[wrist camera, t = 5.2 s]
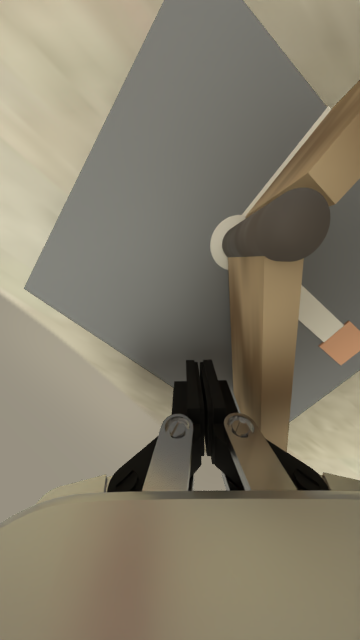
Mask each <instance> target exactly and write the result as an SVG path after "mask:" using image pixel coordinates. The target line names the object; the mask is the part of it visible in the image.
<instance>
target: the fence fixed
mask: <svg viewBox="0 0 360 640" xmlns="http://www.w3.org/2000/svg"><path fill="white" fill-rule="evenodd" d="M359 179H360V80H359V81H358V83H357V84H356V85H355V86H354V87H353V88H352V89H351V90H350V91H349V92H348V93H347V94H346V95H345V96H344V97H343V98H342V99H341V100H340V101H339V102H338V103H337V104H336V105H335V106H334V107H333V108H332V109H331V110H330V112H329V113H328V114H327V115H326V117H325V118H324V119H323V120H322V122H321V123H320V124H319V125H318V127H317V128H316V129H315V130H314V132H313V133H312V134H311V135H310V136H309V138H308V139H307V140H306V141H305V143H304V144H303V145H302V146H301V148H300V149H299V150H298V151H297V153H296V154H295V155H294V156H293V158H292V159H291V160H290V161H289V163H288V164H287V165H286V166H285V168H284V169H283V170H282V171H281V173H280V174H279V175H278V176H277V178H276V179H275V180H274V181H273V183H272V184H271V185H270V186H269V188H268V189H267V190H266V191H265V193H264V194H263V195H262V196H261V198H260V199H259V200H258V201H257V202H256V204H255V205H254V206H253V207H252V209H251V210H250V211H249V212H248V214H247V215H246V216H245V218H247V217H249V216H250V215H252V214H253V213H255V212H256V211H258V210H259V209H261V208H263V207H264V206H266V205H267V204H269V203H270V202H272V201H273V200H275V199H276V198H278V197H279V196H281V195H282V194H284V193H285V192H287V191H289V190H292V189H295V188H302V187H304V188H311V189H314V190H316V191H318V192H319V193H320V194H321V195H323V197H324V198H325V199H326V201H327V203H328V205H329V206H332V205H335V204H336V203H337V202H338V201H339V200H340V199H341V198H342V197H343V196H344V195H345V194H346V192H347V191H348V190H349V189H350V188H351V187H352V186H353V185H354V184H355V183H356V182H357V181H358V180H359Z"/></svg>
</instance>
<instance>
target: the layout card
mask: <svg viewBox="0 0 360 640" xmlns="http://www.w3.org/2000/svg"><path fill="white" fill-rule="evenodd" d="M330 110H331V108H330V107H329V106H328V107H326V105H325V104H324V103H323V102H322V100H321V99H320V98H319V96H318V95H317V94H316V93H315V91H314V90H313V89H312V88H311V86H310V85H309V84H308V82H307V81H306V80H305V79H304V77H303V76H302V75H301V74H300V72H299V71H298V70H297V68H296V67H295V66H294V65H293V63H292V62H291V61H290V60H289V58H288V57H287V56H286V54H285V53H284V52H283V51H282V49H281V48H280V47H279V46H278V44H277V43H276V42H275V40H274V39H273V38H272V37H271V35H270V34H269V33H268V32H267V30H266V29H265V28H264V26H263V25H262V24H261V23H260V21H259V20H258V19H257V18H256V16H255V15H254V14H253V12H252V11H251V10H250V9H249V7H248V6H247V5H246V4H245V2H244V1H243V0H164V2H163V4H162V6H161V8H160V10H159V12H158V14H157V16H156V18H155V20H154V22H153V24H152V26H151V28H150V30H149V32H148V34H147V37H146V39H145V41H144V43H143V45H142V47H141V49H140V51H139V53H138V55H137V57H136V59H135V61H134V63H133V65H132V67H131V69H130V71H129V73H128V76H127V78H126V80H125V82H124V84H123V86H122V88H121V90H120V92H119V94H118V96H117V98H116V100H115V102H114V104H113V106H112V108H111V110H110V113H109V115H108V117H107V119H106V121H105V123H104V125H103V127H102V129H101V131H100V133H99V135H98V137H97V139H96V141H95V143H94V145H93V147H92V150H91V152H90V154H89V156H88V158H87V160H86V162H85V164H84V166H83V168H82V170H81V172H80V174H79V176H78V178H77V180H76V182H75V184H74V186H73V189H72V191H71V193H70V195H69V197H68V199H67V201H66V203H65V205H64V207H63V209H62V211H61V213H60V215H59V217H58V219H57V221H56V223H55V226H54V228H53V230H52V232H51V234H50V236H49V238H48V240H47V242H46V244H45V246H44V248H43V250H42V252H41V254H40V256H39V258H38V260H37V262H36V265H35V267H34V269H33V271H32V273H31V275H30V277H29V279H28V281H27V283H26V285H25V287H24V289H25V290H27V291H28V292H30V293H31V294H33V295H34V296H36V297H37V298H39V299H40V300H42V301H43V302H45V303H46V304H48V305H49V306H51V307H52V308H54V309H55V310H57V311H58V312H60V313H61V314H63V315H64V316H66V317H67V318H69V319H70V320H72V321H73V322H75V323H76V324H78V325H79V326H81V327H82V328H84V329H86V330H87V331H89V332H90V333H92V334H93V335H95V336H96V337H98V338H99V339H101V340H102V341H104V342H105V343H107V344H108V345H110V346H111V347H113V348H114V349H116V350H117V351H119V352H120V353H122V354H123V355H125V356H126V357H128V358H129V359H131V360H132V361H134V362H135V363H137V364H138V365H140V366H141V367H143V368H144V369H146V370H147V371H149V372H150V373H152V374H154V375H155V376H157V377H158V378H160V379H161V380H163V381H164V382H166V383H167V384H169V385H170V386H172V387H173V388H174V381H187V379H186V360H194V362H198V368H199V374H200V362H203V360H210V359H212V362H213V365H214V369H215V372H216V375H217V379H218V380H226V381H227V383H228V385H229V388H230V391H231V394H232V396H233V399H234V402H235V404H236V407H237V410H238V412H239V413H241V412H240V409H239V406H238V404H237V401H236V398H235V395H234V393H233V370H232V345H231V321H230V296H229V271H228V257H227V256H226V255H225V254H224V252H223V249H222V241H223V238H224V236H225V234H226V233H227V231H228V230H229V229H231V228H232V227H234V226H235V225H237V224H238V223H240V222H241V221H243V220H244V219H246V218H245V216H246V215H247V214H248V212H249V211H250V210H251V209H252V207H253V206H254V205H255V204H256V202H257V201H258V200H259V199H260V198H261V196H262V195H263V194H264V193H265V191H266V190H267V189H268V188H269V186H270V185H271V184H272V183H273V181H274V180H275V179H276V178H277V176H278V175H279V174H280V173H281V171H282V170H283V169H284V168H285V166H286V165H287V164H288V163H289V161H290V160H291V159H292V158H293V156H294V155H295V154H296V153H297V151H298V150H299V149H300V148H301V146H302V145H303V144H304V143H305V141H306V140H307V139H308V138H309V136H310V135H311V134H312V133H313V132H314V130H315V129H316V128H317V127H318V125H319V124H320V123H321V122H322V120H323V119H324V118H325V117H326V115H327V114H328V113H329V112H330ZM329 209H330V226H329V229H328V232H327V235H326V237H325V239H324V240H323V242H322V243H321V245H320V246H319V247H318V248H317V249H316V250H315V251H314V252H313V253H312V254H310V255H309V256H307V257H305V258H304V261H303V272H302V284H301V295H300V306H299V318H298V329H297V340H296V351H295V363H294V374H293V385H292V397H291V408H290V419H289V422H290V421H292V420H293V419H294V418H296V417H297V416H299V415H300V414H301V413H303V412H304V411H305V410H307V409H308V408H309V407H311V406H312V405H313V404H315V403H316V402H317V401H319V400H320V399H321V398H323V397H324V396H325V395H327V394H328V393H330V392H331V391H332V390H334V389H335V388H336V387H338V386H339V385H340V384H342V383H343V382H344V381H346V380H347V379H348V378H350V377H351V376H352V375H354V374H355V373H356V372H358V371H359V370H360V179H359V180H358V181H357V182H356V183H355V184H354V185H353V186H352V187H351V188H350V189H349V190H348V191H347V192H346V194H345V195H344V196H343V197H342V198H341V199H340V200H339V201H338V202H337V203H336V204H335V205H332V206H329Z"/></svg>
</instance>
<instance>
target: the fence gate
mask: <svg viewBox="0 0 360 640" xmlns="http://www.w3.org/2000/svg"><path fill="white" fill-rule="evenodd" d="M329 226H330V209H329V205H328V203H327V201H326V199H325V198H324V197H323V195H321V194H320V193H319V192H318V191H316V190H314V189H311V188H304V187H302V188H295V189H292V190H289V191H287V192H285V193H284V194H282V195H281V196H279V197H278V198H276V199H275V200H273V201H272V202H270V203H269V204H267V205H266V206H264V207H263V208H261V209H259V210H258V211H256V212H255V213H253V214H252V215H250V216H249V217H247V218H246V219H244V220H243V221H241V222H240V223H238V224H237V225H235V226H234V227H232V228H231V229H229V230H228V231H227V233H226V234H225V236H224V238H223V241H222V249H223V252H224V254H225V255H226V256H227V257H228V271H229V296H230V321H231V345H232V370H233V393H234V395H235V398H236V401H237V404H238V406H239V409H240V412H241V414H245V415H247V416H249V417H250V418H251V419H253V421H254V422H255V423H256V425H257V426H258V428H259V429H260V431H261V432H262V434H263V436H264V437H265V439H267V440H268V441H270V442H271V443H273V444H275V445H276V446H278V447H279V448H281V449H282V450H284V451H285V452H287V442H288V431H289V419H290V408H291V397H292V385H293V374H294V363H295V351H296V340H297V329H298V318H299V306H300V295H301V284H302V272H303V261H304V258H305V257H307V256H309V255H310V254H312V253H313V252H314V251H315V250H316V249H317V248H318V247H319V246H320V245H321V243H322V242H323V240H324V239H325V237H326V235H327V232H328V229H329Z"/></svg>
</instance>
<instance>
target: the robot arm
mask: <svg viewBox="0 0 360 640" xmlns="http://www.w3.org/2000/svg"><path fill="white" fill-rule="evenodd" d="M186 379H187V381H174V391H173V405H172V415H170V416H169V417H167V418H166V419H165V420H164V421H163V423H162V426H161V429H160V432H159V436H158V437H156V438H155V439H154V440H153V441H152V442H151V443H149V444H148V445H147V446H146V447H145V448H144V449H142V450H141V451H140V452H139V453H137V454H136V455H135V456H134V457H133V458H132V459H130V460H129V461H128V462H127V463H126V464H124V465H123V466H122V467H121V468H119V470H117V472H116V473H115V474H114V475H113V476H109V477H107V476H106V474H105V475H102V476H98V477H94V478H90V479H86V480H83V481H79V482H76V483H71V484H68V485H64V486H60V487H57V488H55V489H53V490H50V491H49V492H48V493H46V494H45V495H44V496H43V497H42V498H41V499H40V500H39V501H38V502H37V503H36V505H34V506H32V507H29V508H27V509H25V510H23V511H21V512H19V513H17V514H15V515H13V516H12V517H10V518H8V519H6V520H5V521H3V522H2V523H0V640H360V480H355V479H351V478H346V477H342V476H337V475H333V474H328V473H324V472H323V475H319V474H318V473H317V472H316V471H314V470H313V469H312V468H310V467H309V466H307V465H306V464H304V463H303V462H301V461H299V460H298V459H296V458H295V457H293V456H292V455H290V454H289V453H287V452H285V451H284V450H282V449H281V448H279V447H278V446H276V445H275V444H273V443H271V442H270V441H268V440H267V439H265V437H264V436H263V434H262V432H261V431H260V429H259V428H258V426H257V425H256V423H255V422H254V421H253V419H251V418H250V417H249V416H247V415H245V414H241V413H239V412H238V410H237V407H236V404H235V402H234V399H233V396H232V394H231V391H230V388H229V385H228V383H227V381H226V380H218V379H217V375H216V372H215V369H214V365H213V362H212V359H210V360H203V362H200V374H199V368H198V362H194V360H186ZM204 436H205V444H206V452H207V456H211V459H212V464H215V466H216V467H218V468H219V469H220V470H221V471H222V477H223V481H224V484H225V487H226V491H193V486H194V473H195V472H196V471H197V469H198V468H199V467H200V466H201V456H204Z"/></svg>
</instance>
